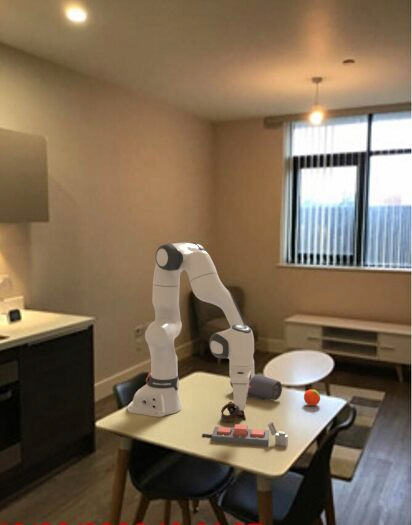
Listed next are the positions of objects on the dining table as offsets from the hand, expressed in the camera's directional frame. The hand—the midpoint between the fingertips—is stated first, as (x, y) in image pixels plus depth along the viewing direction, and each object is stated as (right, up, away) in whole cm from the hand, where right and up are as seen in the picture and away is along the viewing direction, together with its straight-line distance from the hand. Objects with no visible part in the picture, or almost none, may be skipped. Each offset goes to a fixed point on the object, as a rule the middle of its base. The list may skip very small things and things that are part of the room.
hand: (242, 408), depth 174 cm
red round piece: (+33, -9, +35) cm, 49 cm away
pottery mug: (-2, -11, +20) cm, 23 cm away
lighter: (+12, -13, -2) cm, 18 cm away
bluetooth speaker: (+9, -9, +46) cm, 48 cm away
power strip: (-2, -12, +2) cm, 12 cm away
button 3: (+5, -11, 0) cm, 12 cm away
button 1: (-6, -11, +2) cm, 13 cm away
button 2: (-1, -10, +1) cm, 10 cm away
